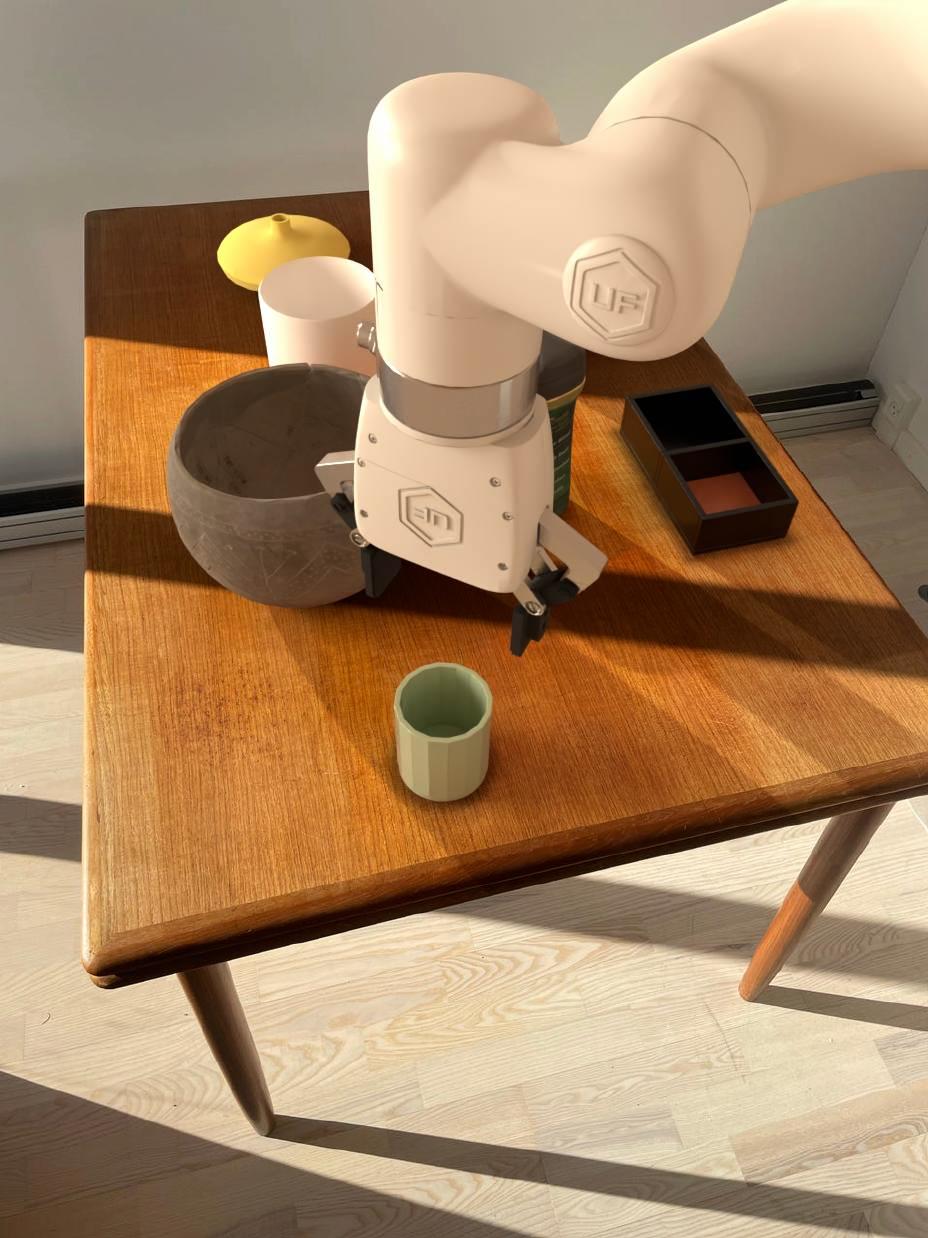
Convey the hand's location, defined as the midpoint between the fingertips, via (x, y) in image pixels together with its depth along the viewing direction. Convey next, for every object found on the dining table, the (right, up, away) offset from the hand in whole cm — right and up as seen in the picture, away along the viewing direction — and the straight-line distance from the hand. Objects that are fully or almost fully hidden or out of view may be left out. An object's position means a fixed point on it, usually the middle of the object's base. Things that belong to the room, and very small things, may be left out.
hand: (453, 609), depth 59 cm
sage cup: (-1, -11, +15) cm, 19 cm away
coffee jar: (+6, +11, +34) cm, 36 cm away
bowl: (-13, +5, +28) cm, 32 cm away
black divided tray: (+24, +13, +36) cm, 45 cm away
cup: (-14, +24, +45) cm, 52 cm away
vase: (-21, +41, +59) cm, 75 cm away
